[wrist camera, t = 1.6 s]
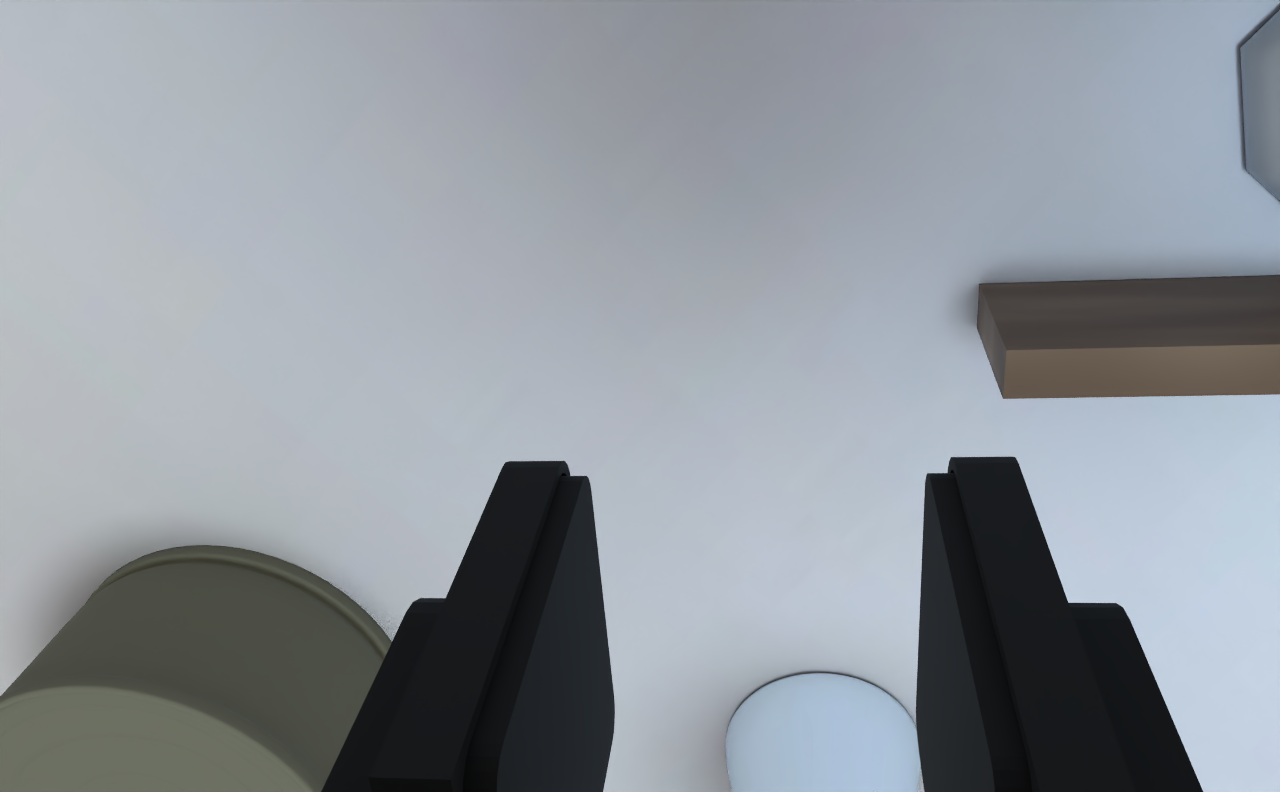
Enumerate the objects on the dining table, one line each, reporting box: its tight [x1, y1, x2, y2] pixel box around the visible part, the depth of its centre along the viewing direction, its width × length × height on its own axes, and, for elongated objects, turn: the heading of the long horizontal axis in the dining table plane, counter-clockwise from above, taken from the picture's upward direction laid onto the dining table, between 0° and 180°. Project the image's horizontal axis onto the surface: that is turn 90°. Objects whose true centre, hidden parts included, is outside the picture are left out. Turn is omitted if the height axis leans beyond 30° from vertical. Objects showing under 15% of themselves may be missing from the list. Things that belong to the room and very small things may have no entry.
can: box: [0, 545, 392, 792], centre depth 35 cm, size 12×12×7 cm
